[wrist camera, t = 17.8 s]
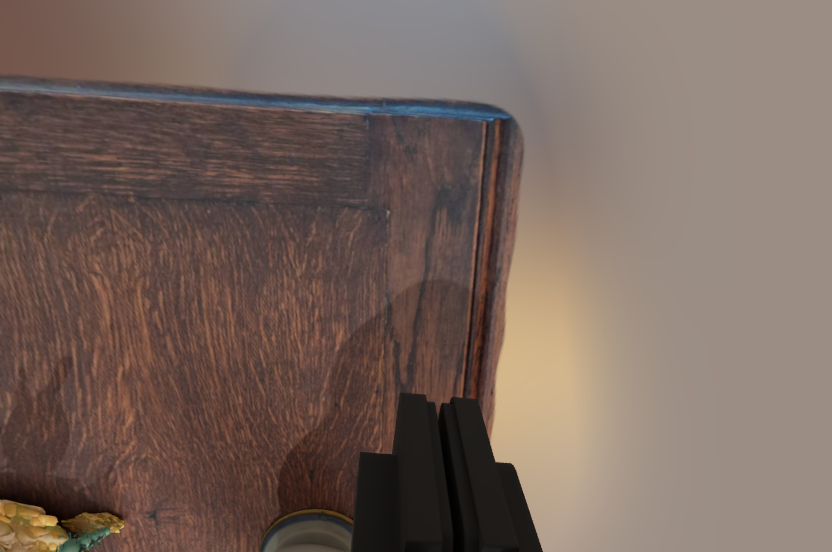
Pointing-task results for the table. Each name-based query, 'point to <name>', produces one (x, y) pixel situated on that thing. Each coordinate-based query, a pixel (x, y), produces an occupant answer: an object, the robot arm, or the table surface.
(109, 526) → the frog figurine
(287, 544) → the apothecary jar
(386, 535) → the robot arm
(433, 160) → the table surface
